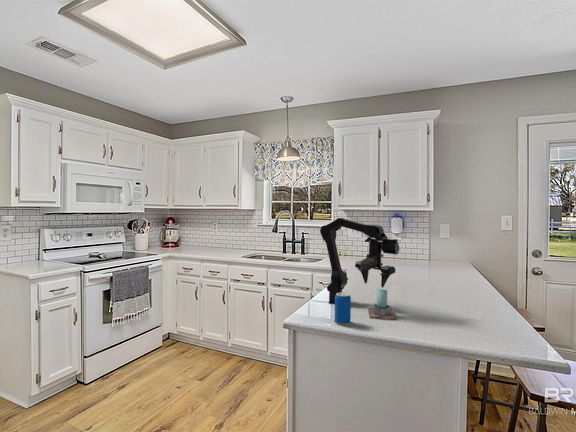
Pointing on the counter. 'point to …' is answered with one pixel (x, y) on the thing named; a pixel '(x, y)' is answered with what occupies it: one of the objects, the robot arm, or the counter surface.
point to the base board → (371, 315)
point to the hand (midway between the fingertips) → (373, 285)
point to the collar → (382, 310)
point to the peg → (381, 298)
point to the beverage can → (342, 308)
